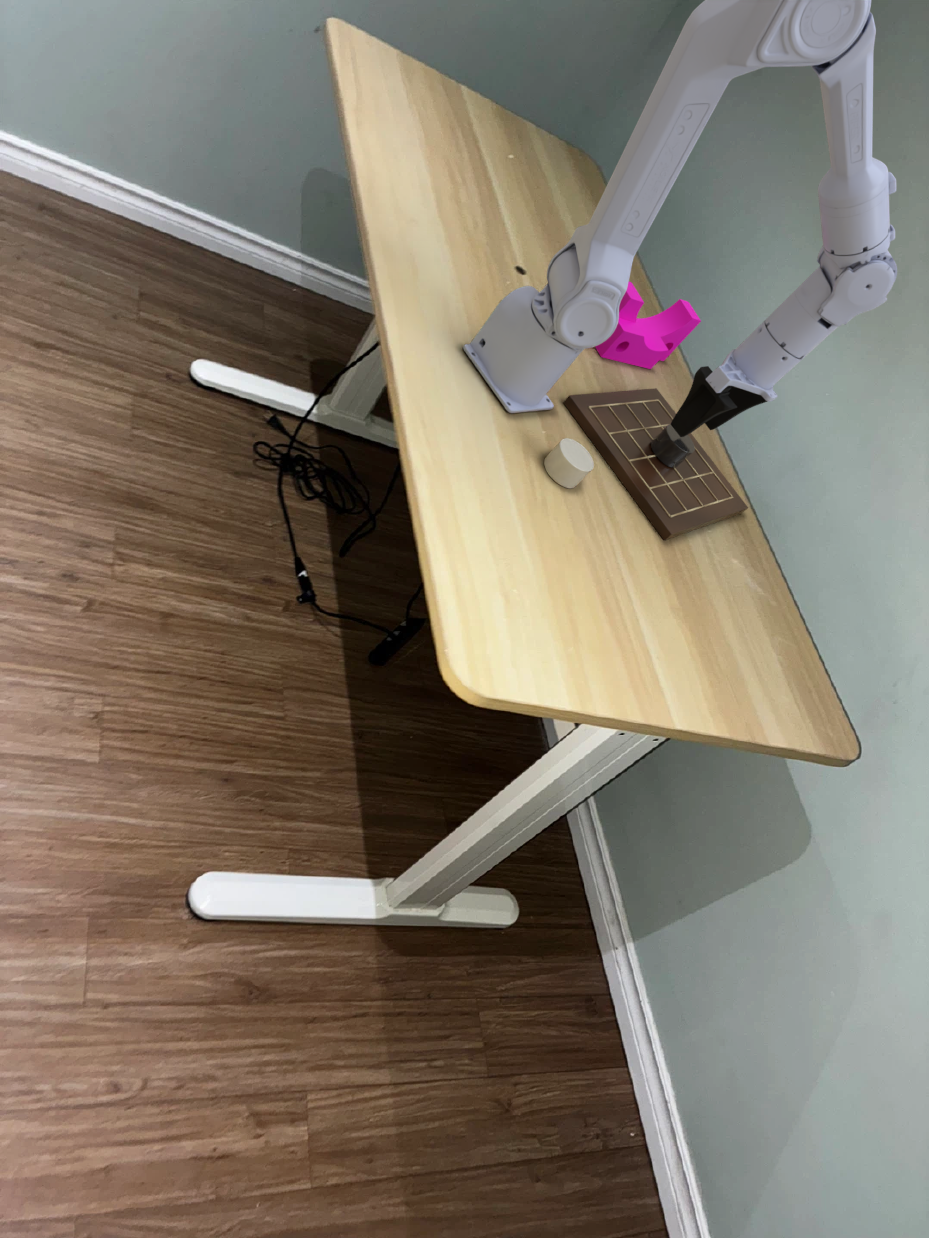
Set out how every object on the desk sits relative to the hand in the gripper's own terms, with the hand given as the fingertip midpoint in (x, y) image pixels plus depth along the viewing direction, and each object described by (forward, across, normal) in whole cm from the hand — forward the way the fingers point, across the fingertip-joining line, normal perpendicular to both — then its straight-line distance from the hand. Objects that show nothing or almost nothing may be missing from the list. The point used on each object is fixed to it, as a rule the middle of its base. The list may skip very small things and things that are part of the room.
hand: (691, 427), depth 95 cm
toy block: (+6, +14, +18) cm, 23 cm away
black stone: (+5, 0, 0) cm, 5 cm away
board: (+6, 0, 0) cm, 6 cm away
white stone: (+6, -19, +2) cm, 20 cm away
